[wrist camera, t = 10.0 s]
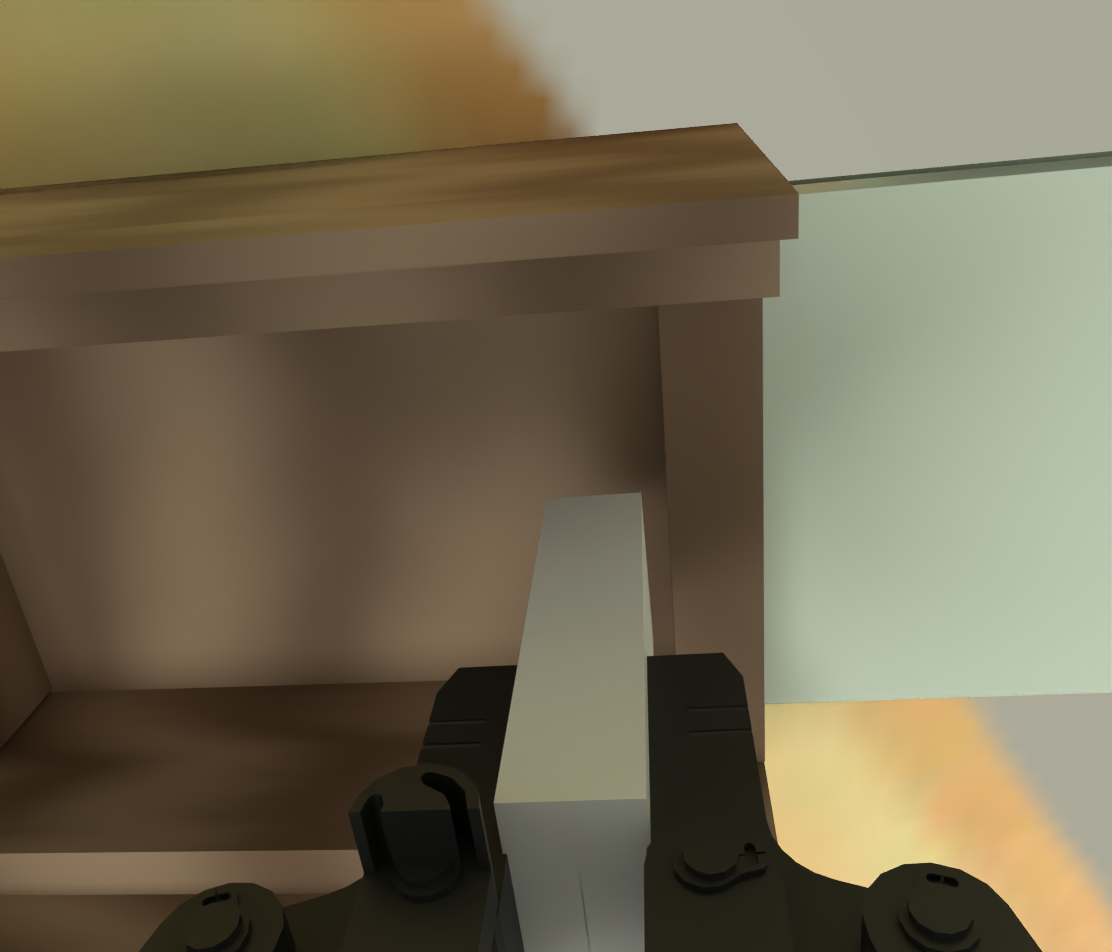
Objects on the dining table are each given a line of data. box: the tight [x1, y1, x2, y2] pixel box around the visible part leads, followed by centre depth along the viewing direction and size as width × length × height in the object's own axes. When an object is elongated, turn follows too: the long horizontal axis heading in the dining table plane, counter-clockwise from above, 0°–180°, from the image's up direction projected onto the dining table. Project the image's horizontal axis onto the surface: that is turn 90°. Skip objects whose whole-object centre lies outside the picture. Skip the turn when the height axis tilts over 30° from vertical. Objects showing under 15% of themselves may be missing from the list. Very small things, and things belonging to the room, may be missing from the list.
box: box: [0, 123, 799, 952], centre depth 18 cm, size 18×13×8 cm
